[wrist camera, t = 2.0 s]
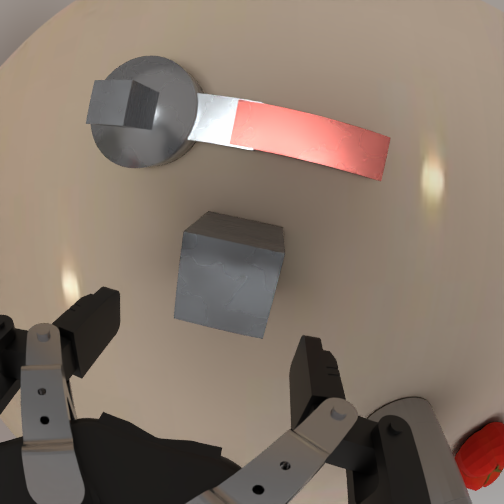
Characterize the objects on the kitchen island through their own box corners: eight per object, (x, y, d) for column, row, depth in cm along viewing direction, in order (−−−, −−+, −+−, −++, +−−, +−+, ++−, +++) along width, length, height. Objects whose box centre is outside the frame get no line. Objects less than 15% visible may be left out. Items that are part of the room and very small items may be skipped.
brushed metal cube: (282, 227, 22) (284, 253, 16) (266, 294, 24) (262, 338, 18) (208, 211, 22) (183, 231, 16) (197, 279, 24) (173, 318, 18)
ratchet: (104, 160, 21) (48, 166, 15) (122, 66, 19) (72, 43, 12) (361, 210, 21) (395, 234, 14) (383, 108, 18) (426, 91, 12)
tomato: (480, 451, 31) (496, 486, 22) (435, 461, 31) (449, 503, 22) (515, 410, 27) (537, 445, 19) (473, 417, 28) (496, 461, 19)
